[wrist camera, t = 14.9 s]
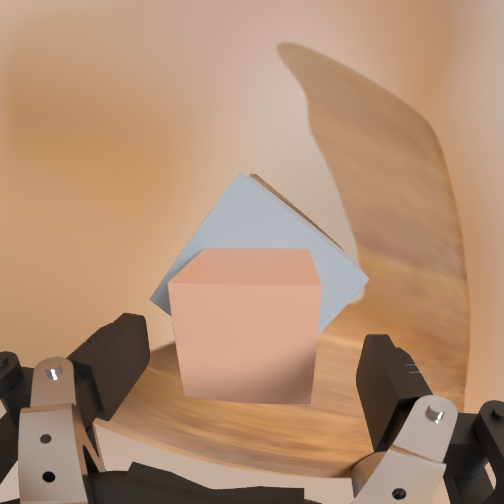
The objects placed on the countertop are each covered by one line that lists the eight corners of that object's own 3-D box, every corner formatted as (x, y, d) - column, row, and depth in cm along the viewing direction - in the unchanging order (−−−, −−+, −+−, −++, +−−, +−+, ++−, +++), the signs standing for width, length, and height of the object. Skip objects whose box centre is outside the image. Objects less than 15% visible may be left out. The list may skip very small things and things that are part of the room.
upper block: (351, 258, 20) (369, 279, 16) (270, 346, 22) (267, 382, 18) (248, 174, 19) (238, 173, 15) (174, 275, 21) (149, 299, 17)
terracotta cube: (308, 248, 15) (321, 285, 10) (304, 341, 17) (310, 404, 11) (204, 248, 16) (167, 282, 11) (211, 338, 17) (184, 396, 12)
